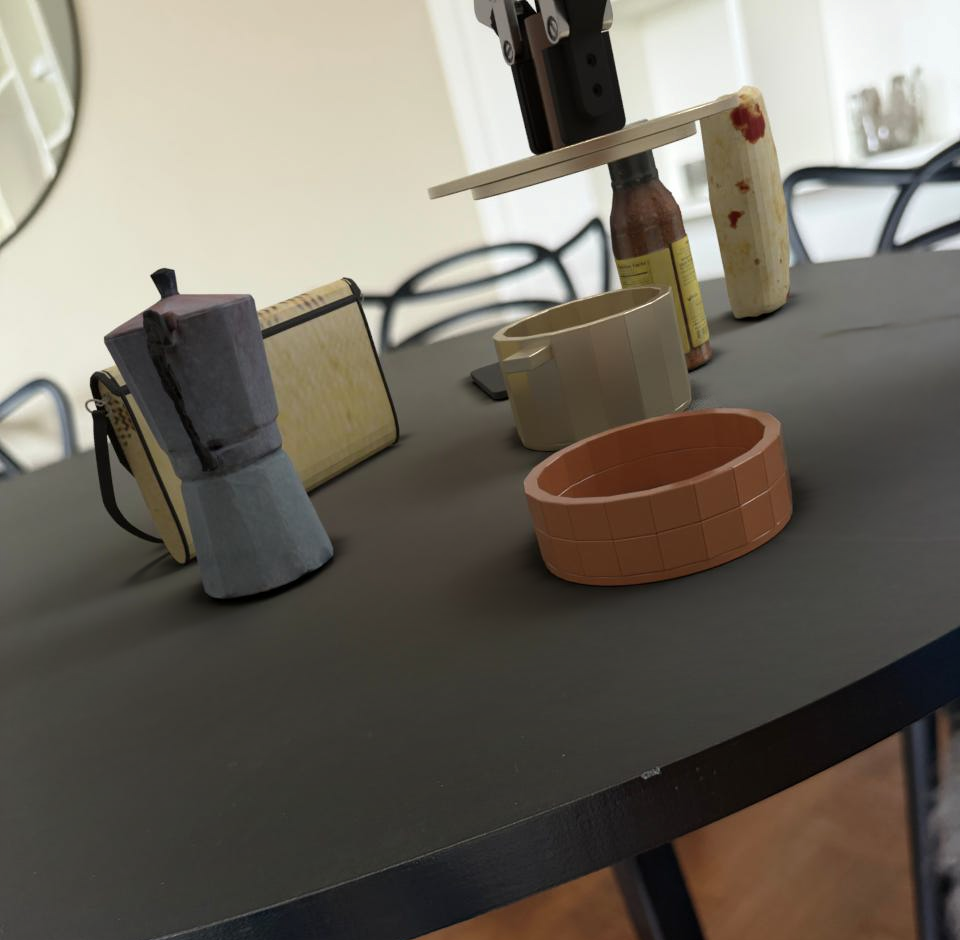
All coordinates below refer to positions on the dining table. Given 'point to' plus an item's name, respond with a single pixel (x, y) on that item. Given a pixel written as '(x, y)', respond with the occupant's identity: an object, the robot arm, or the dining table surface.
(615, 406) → the pot
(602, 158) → the lid
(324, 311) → the clutch purse
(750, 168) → the food model
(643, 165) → the sauce bottle
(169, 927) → the dining table surface
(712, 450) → the pan
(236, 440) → the moka pot
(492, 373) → the phone
